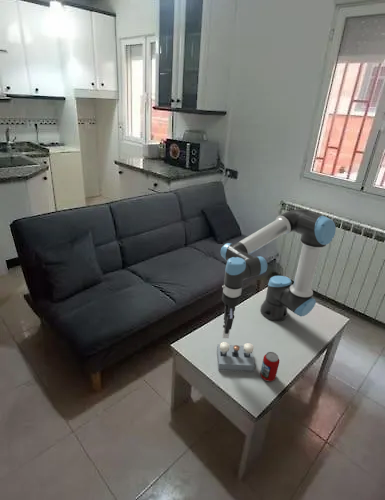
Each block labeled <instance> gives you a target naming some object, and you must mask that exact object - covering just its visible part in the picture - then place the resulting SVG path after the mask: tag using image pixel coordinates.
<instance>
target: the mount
mask: <svg viewBox="0 0 385 500" xmlns="http://www.w3.org/2000/svg"><path fill="white" fill-rule="evenodd" d="M229 345H230V347H229V351H228V352H226V354H222V351H221V350H220V344H217V345H216V357H217V369H218V371H225V372H248V373H253V372H255V367H256V365H255V361H254V356H253V355H254V354H253V352H252V353H249V356H247V355H246V352H245V351H244V350H243V349H244V345H240V344H239V345H238V346H239V347H240V349H239V350H238V354H237V355H234V349H233V347H234V345H235V344H229Z"/></svg>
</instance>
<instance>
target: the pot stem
mask: <svg viewBox="0 0 385 500" xmlns="http://www.w3.org/2000/svg"><path fill="white" fill-rule="evenodd" d="M233 345H234V347H233V349H234V355H237V354H238V350H239V349H240V347H239V346H238V345H237V344H233Z"/></svg>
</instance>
